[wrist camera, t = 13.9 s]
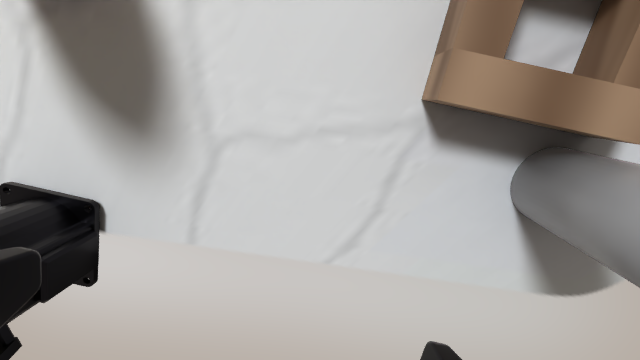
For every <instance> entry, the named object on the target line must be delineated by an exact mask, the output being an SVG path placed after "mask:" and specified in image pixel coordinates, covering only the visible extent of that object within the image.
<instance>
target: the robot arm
mask: <svg viewBox="0 0 640 360" xmlns="http://www.w3.org/2000/svg"><path fill="white" fill-rule="evenodd" d="M89 206H90V207H91V210H90V208H89ZM99 211H100V208H99V205H98V203H97V202H96V201H94V200H91V199H86V198H82V197H77V196H73V195H68V194H64V193H59V192H55V191H51V190H46V189H42V188H37V187H33V186H28V185H24V184H19V183H15V182H7V183H3V184H1V185H0V360H9V359H10V358H11V357H12V356H13V355H14V354H15V353H16V352H17V351H18V349H19V348H20V347H21V346H22V345H21V343H20V341H19V339H18V338H17V337H14V335H13V334H12V332H11V330H10V328H9V327H8V325H7V324H8V323H9V322H11V321H12V320H13V319H15V318H16V317H18V316H19V315H21V314H22V313H24V312H25V311H27V310H28V309H30V308H31V307H33V306H34V305H36V304H37V303H39V302H41V303H45V302H47V301H48V300H50V299H51V298H53V297H54V296H55V295H57V294H58V293H60V292H61V291H63V290H64V289H66V288H67V287H68V286H70V285H72V284H77V285H81V286H86V287H90V286H92V285H93V284H95V283H96V282H97V280H98V259H99V258H98V257H99ZM88 278H89V279H88ZM420 360H462V359H461V358H460V357H459V356H458V355H457V354H456V353H455V352H454V351H453V350H452V349H451V348H450V347H449V346H447V345H445V344H442V343H437V342H433V341H430V342H428V343H427V344H426V346H425V348H424V351H423V354H422V357H421V359H420Z"/></svg>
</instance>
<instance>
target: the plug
mask: <svg viewBox="0 0 640 360" xmlns="http://www.w3.org/2000/svg"><path fill="white" fill-rule="evenodd" d="M511 198H512V201H513V203H514V205H515V207H516V208H517V209H518V210H519V211H520V212H521V213H522V214H523V215H525V216H526V217H528V218H530V219H531V220H533V221H534V222H536V223H537V224H539V225H541V226H542V227H544V228H545V229H547V230H549V231H550V232H552V233H553V234H555V235H557V236H558V237H560V238H561V239H563V240H565V241H566V242H568V243H569V244H571V245H573V246H574V247H576V248H577V249H579V250H581V251H582V252H584V253H585V254H587V255H588V256H590V257H592V258H593V259H595V260H596V261H598V262H600V263H601V264H603V265H604V266H606V267H608V268H609V269H611V270H612V271H614V272H616V273H617V274H619V275H620V276H622V277H624V278H625V279H627V280H628V281H630V282H631V283H633V284H635V285H636V286H638V287H640V164H636V163H632V162H627V161H622V160H618V159H613V158H608V157H604V156H599V155H594V154H590V153H585V152H581V151H576V150H571V149H567V148H558V147H555V148H548V149H544V150H541V151H538V152H536V153H534V154H533V155H531V156H529V157H528V158H527V159H526V160H525V161H524V162H522V163H521V165H520V166H519V167H518V169H517V170H516V172H515V174H514V176H513V179H512V182H511Z"/></svg>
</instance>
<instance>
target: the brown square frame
mask: <svg viewBox="0 0 640 360" xmlns="http://www.w3.org/2000/svg"><path fill="white" fill-rule="evenodd" d="M523 2H524V0H451V1H450V4H449V7H448V11H447V14H446V18H445V21H444V25H443V28H442V31H441V35H440V38H439V42H438V45H437V49H436V52H435V56H434V59H433V62H432V66H431V69H430V73H429V76H428V80H427V83H426V86H425V90H424V93H423V97H422V100H426V101H430V102H435V103H439V104H444V105H448V106H453V107H457V108H462V109H466V110H471V111H475V112H480V113H484V114H489V115H494V116H498V117H503V118H507V119H512V120H516V121H521V122H525V123H530V124H534V125H539V126H543V127H548V128H552V129H557V130H561V131H566V132H570V133H575V134H579V135H584V136H588V137H594V138H600V139H607V140H613V141H620V142H626V143H633V144H639V145H640V0H602V3H601V5H600V8H599V10H598V13H597V15H596V18H595V20H594V22H593V25H592V27H591V30H590V32H589V35H588V37H587V40H586V42H585V45H584V47H583V49H582V52H581V54H580V57H579V59H578V62H577V64H576V67H575V69H574V72H573V74H570V73H566V72H561V71H556V70H552V69H547V68H543V67H538V66H534V65H529V64H525V63H520V62H516V61H511V60H507V59H504V56H505V53H506V50H507V48H508V45H509V42H510V39H511V36H512V33H513V30H514V27H515V25H516V22H517V19H518V16H519V13H520V10H521V7H522V4H523Z"/></svg>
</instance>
